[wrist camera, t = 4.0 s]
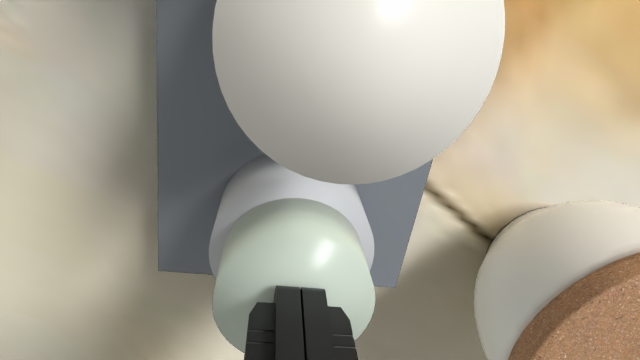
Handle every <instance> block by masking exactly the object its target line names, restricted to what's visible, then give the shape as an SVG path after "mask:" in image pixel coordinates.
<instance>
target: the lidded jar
mask: <svg viewBox="0 0 640 360" xmlns="http://www.w3.org/2000/svg"><path fill="white" fill-rule="evenodd" d="M474 313H475V322H476V326H477V330H478V334H479V338H480V341H481V345H482V348H483V350H484V353H485V356H486V358H487V360H640V207H637V206H633V205H628V204H624V203H618V202H611V201H599V200H585V201H572V202H565V203H561V204H557V205H553V206H550V207H544V208H539V209H536V210H533V211H530V212H527V213H525V214H523V215H521V216H519V217H518V218H516V219H515V220H513V221H512V222H510V223H509V224H508V225H507V226H505V227H504V228H503V229H502V230H501V231H500V232H499V233H498V234H497V236H496V237H495V238H494V240H493V241H492V243H491V245H490V247H489V249H488V251H487V254H486V256H485V258H484V260H483V262H482V264H481V266H480V269H479V272H478V275H477V279H476V284H475V290H474Z"/></svg>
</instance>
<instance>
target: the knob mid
mask: <svg viewBox="0 0 640 360" xmlns="http://www.w3.org/2000/svg"><path fill="white" fill-rule="evenodd" d="M504 36H505V10H504V0H217V2H216V6H215V11H214V20H213V28H212V42H213V57H214V64H215V71H216V74H217V78H218V82H219V85H220V89H221V92H222V94H223V96H224V99H225V101H226V103H227V106H228V108H229V110H230V111H231V113H232V115H233V117H234V118H235V120H236V122H237V123H238V125H239V126H240V127H241V129H242V130H243V131H244V133H245V134H246V135H247V137H248V138H249V139H250V140H251V141H252V142H253V143H254V144H255V145H256V146H257V147H258V148H259V149H260V150H261V151H262V152H264V153H265V154H266V155H267V156H269V157H270V158H271V159H272V160H274V161H275V162H277V163H279V164H280V165H282V166H284V167H285V168H287V169H289V170H291V171H293V172H295V173H298V174H300V175H302V176H305V177H308V178H311V179H315V180H318V181H322V182H328V183H334V184H350V185H355V184H368V183H374V182H379V181H385V180H388V179H391V178H394V177H398V176H401V175H403V174H405V173H408V172H410V171H412V170H415V169H417V168H418V167H420V166H422V165H424V164H425V163H427V162H429V161H430V160H432V159H433V158H435V157H436V156H437V155H439V154H440V153H441V152H443V151H444V150H445V149H447V148H448V147H449V146H450V145H451V144H452V143H453V142H454V141H455V140H456V139H457V138H458V137H459V136H460V135H461V134H462V133H463V132H464V130H465V129H466V128H467V127H468V126H469V125H470V123H471V122H472V120H473V119H474V118H475V116H476V115H477V113H478V112H479V110H480V109H481V107H482V105H483V103H484V101H485V100H486V98H487V96H488V94H489V92H490V90H491V87H492V85H493V82H494V79H495V77H496V74H497V71H498V67H499V63H500V60H501V56H502V50H503V43H504Z"/></svg>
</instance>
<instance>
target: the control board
mask: <svg viewBox="0 0 640 360" xmlns="http://www.w3.org/2000/svg"><path fill="white" fill-rule="evenodd" d="M216 2H217V0H157V133H158V271H168V272H182V273H196V274H210V275H214V277H215V279H217V274H218V270H219V265H220V260H221V256H222V251H223V247H224V243H225V240H226V238H227V236H228V234H229V232H230V230H231V229H232V227H233V226H234V225H235V223H236V222H237V221H238V220H239V219H240V218H241V217H242V216H244V215H245V214H246V213H247V212H249V211H251V210H252V209H254V208H256V207H258V206H260V205H262V204H264V203H267V202H271V201H274V200H279V199H285V198H304V199H310V200H315V201H318V202H322V203H324V204H326V205H329V206H331V207H332V208H334V209H336V210H338V211H339V212H340V213H341V214H343V215H344V216H345V217H346V218H347V219H348V220H349V221H350V222H351V224H352V225H353V227H354V228H355V230H356V232H357V234H358V236H359V239H360V242H361V245H362V249H363V252H364V255H365V258H366V262H367V265H368V268H369V271H370V275H371V278H372V281H373V285H374V286H377V287H391V288H395V286H396V283H397V280H398V276H399V273H400V269H401V266H402V263H403V259H404V256H405V252H406V249H407V246H408V242H409V239H410V235H411V232H412V229H413V225H414V222H415V218H416V215H417V212H418V208H419V205H420V201H421V198H422V195H423V191H424V188H425V184H426V181H427V178H428V174H429V171H430V167H431V164H432V161H433V159H432V160H430V161H429V162H427V163H425V164H424V165H422V166H420V167H418V168H417V169H415V170H412V171H410V172H408V173H405V174H403V175H401V176H398V177H394V178H391V179H388V180H385V181H379V182H374V183H368V184H355V185H350V184H334V183H328V182H322V181H318V180H315V179H311V178H308V177H305V176H302V175H300V174H298V173H295V172H293V171H291V170H289V169H287V168H285V167H284V166H282V165H280V164H279V163H277V162H275V161H274V160H272V159H271V158H270V157H269V156H267V155H266V154H265V153H264V152H262V151H261V150H260V149H259V148H258V147H257V146H256V145H255V144H254V143H253V142H252V141H251V140H250V139H249V138H248V137H247V135H246V134H245V133H244V131H243V130H242V129H241V127H240V126H239V125H238V123H237V122H236V120H235V118H234V117H233V115H232V113H231V111H230V110H229V108H228V106H227V103H226V101H225V99H224V96H223V94H222V92H221V89H220V85H219V82H218V78H217V74H216V71H215V64H214V57H213V42H212V28H213V20H214V11H215V6H216Z"/></svg>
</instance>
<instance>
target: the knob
mask: <svg viewBox="0 0 640 360" xmlns="http://www.w3.org/2000/svg"><path fill="white" fill-rule="evenodd" d="M276 285H277V286H291V287H300V289H301V287H307V288H321V289H325V291H326V297H327V304H328V306H332V307H341V308H342V310H343V311H344V312H345V314H346V315H347V317H348V318H349V319H350V322H351V327H352V332H353V337H354V341H355V340H356V339H357V338H358V337H359V336H360V335H361V334H362V333H363V331H364V330H365V328H366V327H367V325H368V323H369V322H370V320H371V317H372V315H373V312H374V307H375V289H374V285H373V281H372V278H371V275H370V271H369V268H368V265H367V262H366V258H365V255H364V252H363V249H362V245H361V242H360V239H359V236H358V234H357V232H356V230H355V228H354V227H353V225H352V224H351V222H350V221H349V220H348V219H347V218H346V217H345V216H344V215H343V214H341V213H340V212H339V211H338V210H336V209H334V208H332V207H331V206H329V205H326V204H324V203H322V202H318V201H315V200H310V199H304V198H285V199H279V200H274V201H271V202H267V203H264V204H262V205H260V206H258V207H256V208H254V209H252V210H251V211H249V212H247V213H246V214H245V215H244V216H242V217H241V218H240V219H239V220H238V221H237V222H236V223H235V225H234V226H233V227H232V229H231V230H230V232H229V234H228V236H227V238H226V240H225V243H224V247H223V251H222V256H221V260H220V265H219V270H218V274H217V279H216V283H215V288H214V293H213V299H212V310H213V315H214V319H215V322H216V324H217V326H218V328H219V330H220V332H221V333H222V334H223V336H224V337H225V338H226V339H227V340H228V341H229V342H230V343H231V344H232V345H233V346H234V347H236V348H237V349H238V350H240V351H241V352H243V353H245V346H246V337H247V328H248V319H249V313H250V312H251V311H252V309H253V308H254V306H255V305H256V303H257V302H267V303H273V301H274V294H275V288H276Z"/></svg>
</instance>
